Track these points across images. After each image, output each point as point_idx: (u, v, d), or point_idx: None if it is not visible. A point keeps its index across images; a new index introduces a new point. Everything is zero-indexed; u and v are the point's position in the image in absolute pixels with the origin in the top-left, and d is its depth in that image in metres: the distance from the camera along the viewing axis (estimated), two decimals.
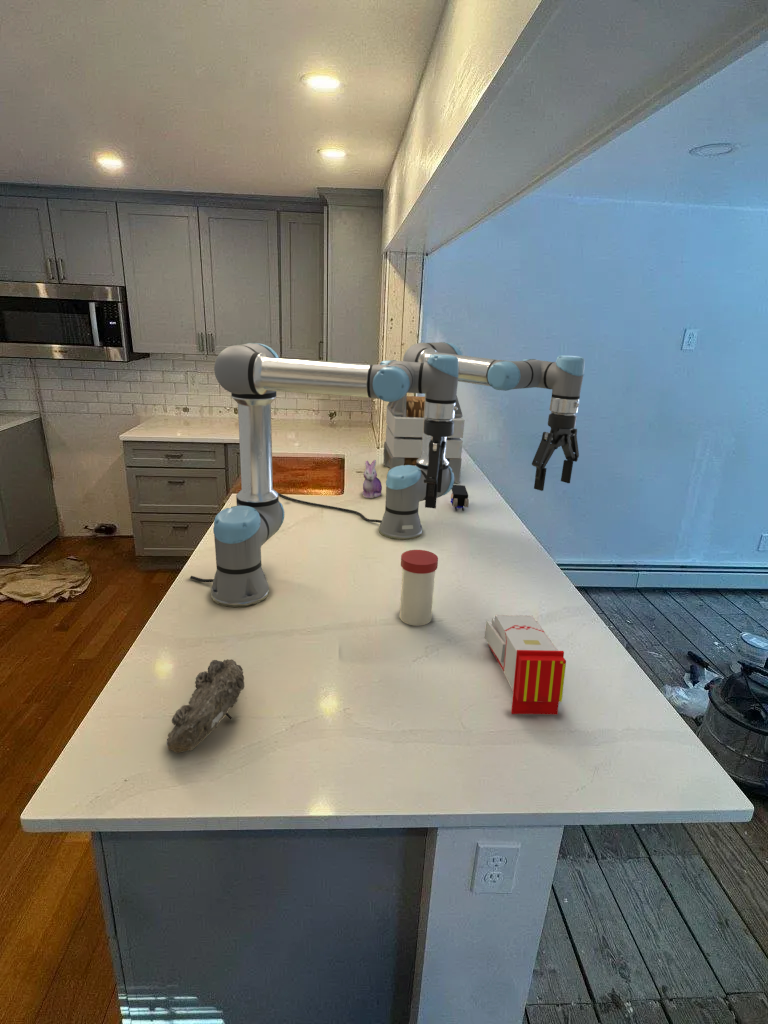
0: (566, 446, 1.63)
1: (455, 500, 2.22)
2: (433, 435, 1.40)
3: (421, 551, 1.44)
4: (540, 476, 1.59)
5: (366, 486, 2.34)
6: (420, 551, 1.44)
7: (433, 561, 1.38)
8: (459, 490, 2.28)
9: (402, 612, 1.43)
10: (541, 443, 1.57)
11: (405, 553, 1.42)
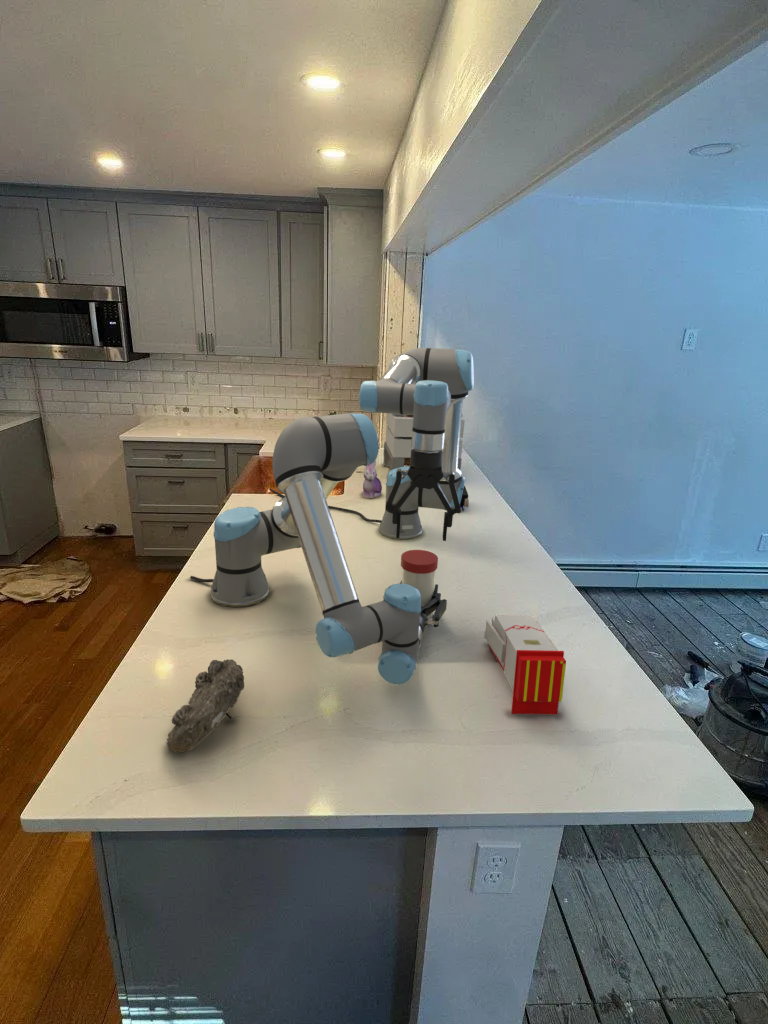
0: None
1: None
2: None
3: (421, 551, 1.44)
4: None
5: (366, 486, 2.34)
6: (420, 551, 1.44)
7: (433, 561, 1.38)
8: None
9: None
10: (455, 487, 1.33)
11: (405, 553, 1.42)
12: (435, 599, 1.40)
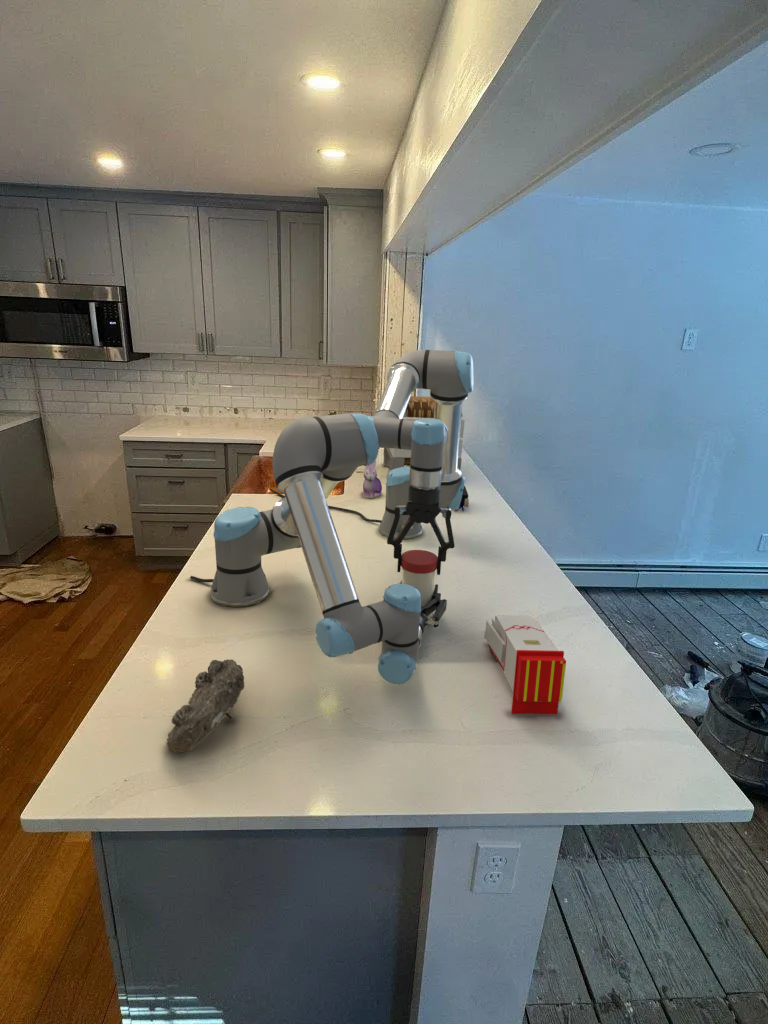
0: None
1: None
2: None
3: (421, 551, 1.44)
4: None
5: (366, 486, 2.34)
6: (420, 551, 1.44)
7: (433, 561, 1.38)
8: None
9: None
10: (450, 523, 1.36)
11: (405, 553, 1.42)
12: (435, 599, 1.40)
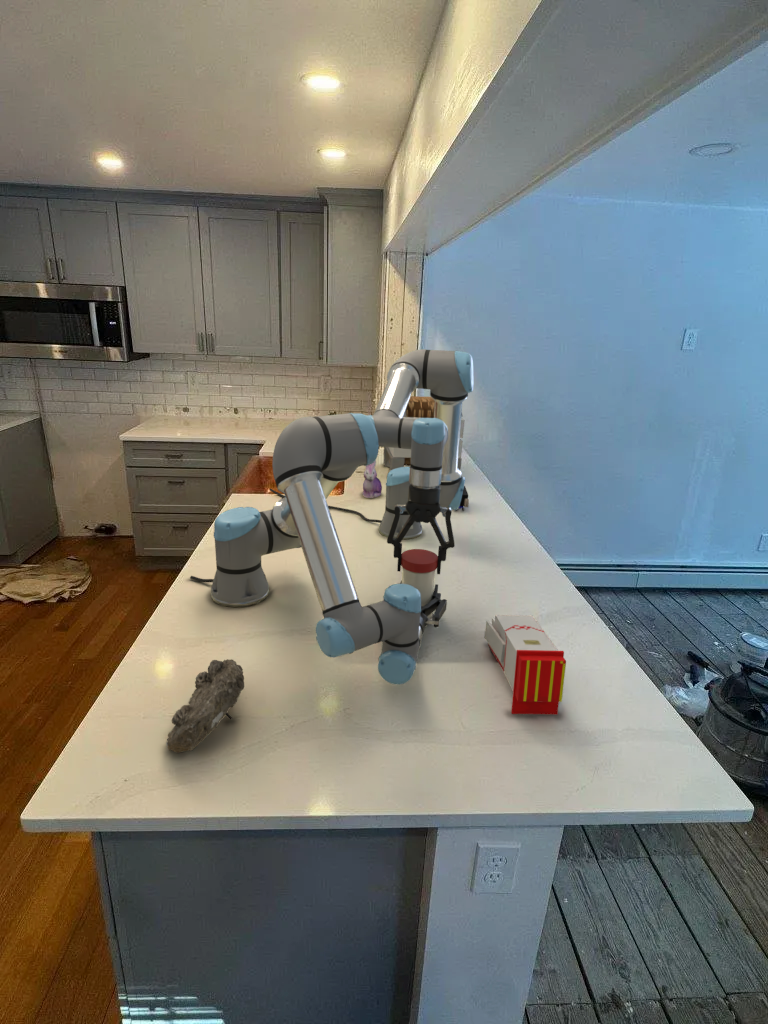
0: None
1: None
2: None
3: (409, 559, 1.39)
4: None
5: (366, 486, 2.34)
6: (409, 559, 1.38)
7: (415, 549, 1.44)
8: None
9: None
10: (450, 522, 1.36)
11: (426, 562, 1.37)
12: (435, 599, 1.40)
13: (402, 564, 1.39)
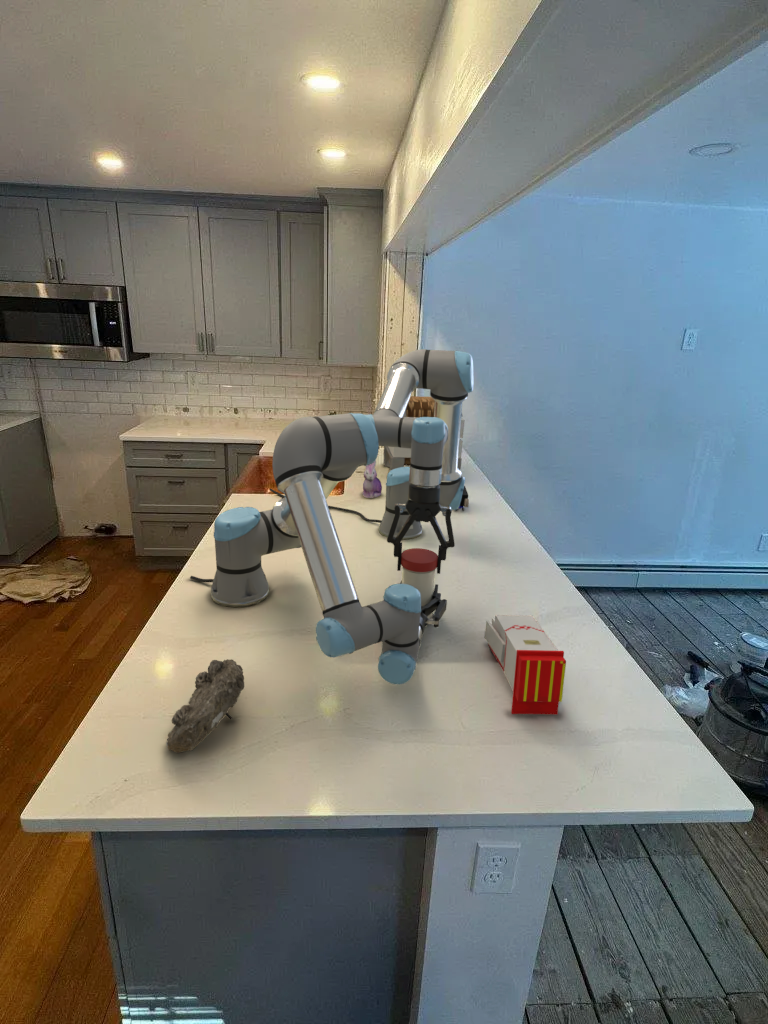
0: None
1: None
2: None
3: (433, 556, 1.40)
4: None
5: (366, 486, 2.34)
6: (433, 556, 1.40)
7: (412, 561, 1.37)
8: None
9: None
10: (450, 521, 1.36)
11: (424, 549, 1.44)
12: (435, 599, 1.40)
13: (437, 564, 1.40)
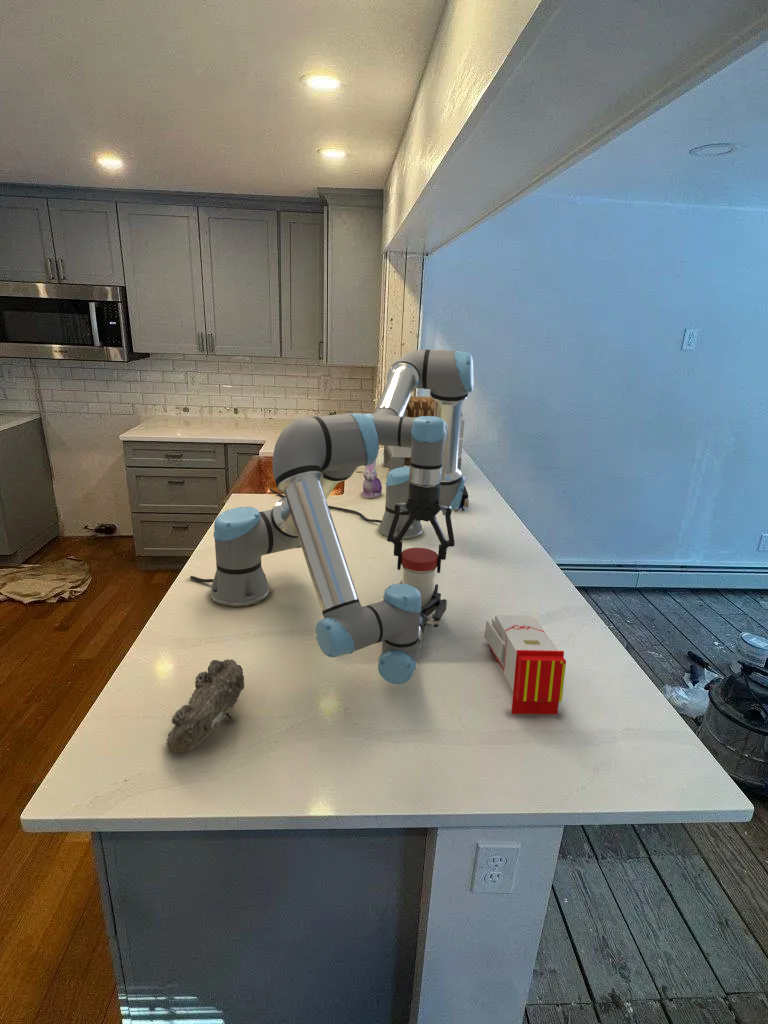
0: None
1: None
2: None
3: (410, 550, 1.43)
4: None
5: (366, 486, 2.34)
6: (408, 550, 1.42)
7: (434, 553, 1.42)
8: None
9: None
10: (450, 521, 1.36)
11: (406, 557, 1.39)
12: (435, 599, 1.40)
13: None
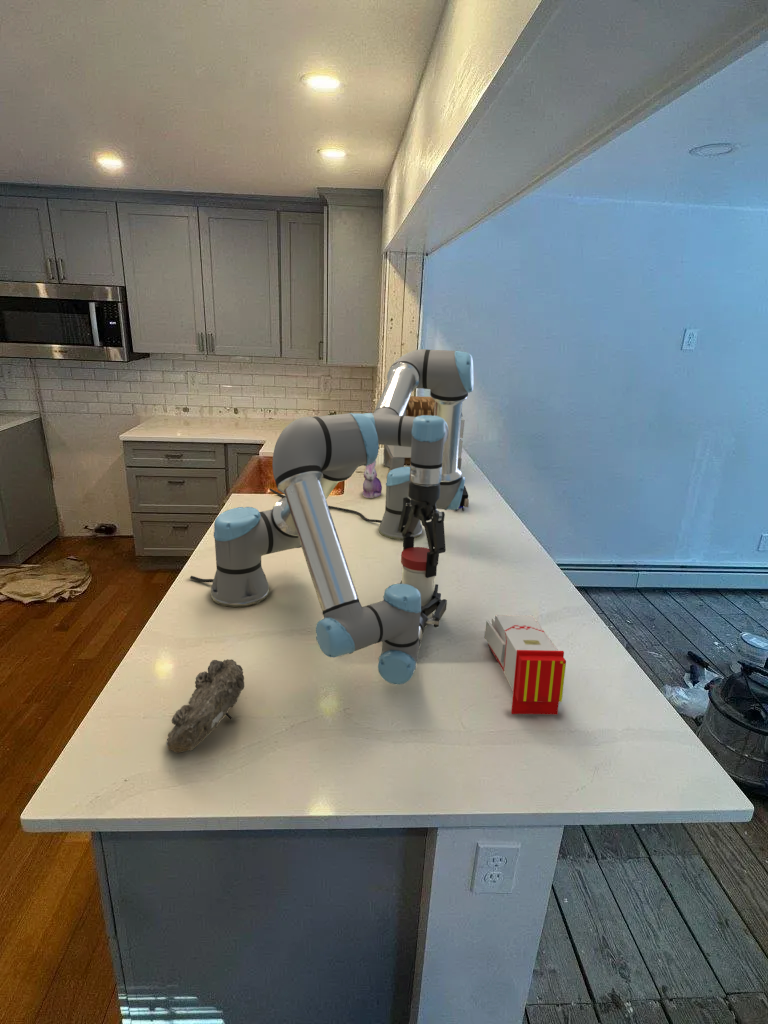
0: None
1: None
2: None
3: (418, 559, 1.37)
4: None
5: (366, 486, 2.34)
6: (419, 560, 1.37)
7: (405, 550, 1.42)
8: None
9: None
10: None
11: None
12: (435, 599, 1.40)
13: (412, 567, 1.37)
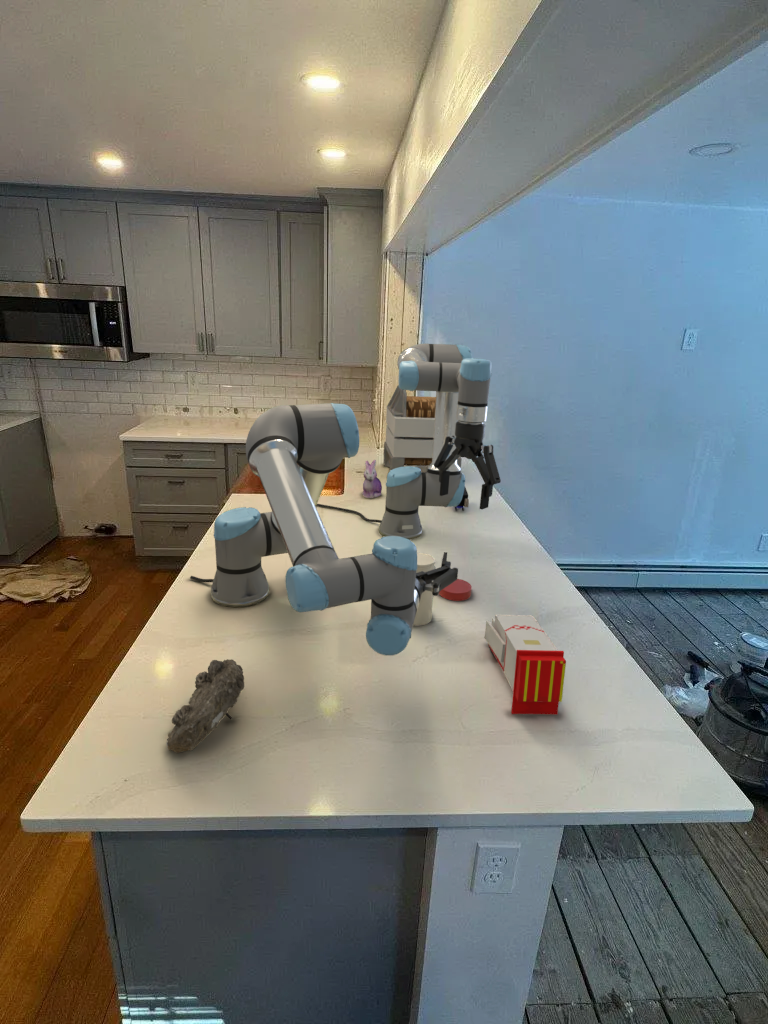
0: None
1: None
2: None
3: (457, 591, 1.56)
4: (440, 479, 1.54)
5: (366, 486, 2.34)
6: (458, 591, 1.56)
7: None
8: None
9: None
10: None
11: (469, 587, 1.58)
12: (443, 567, 1.20)
13: (453, 598, 1.55)
